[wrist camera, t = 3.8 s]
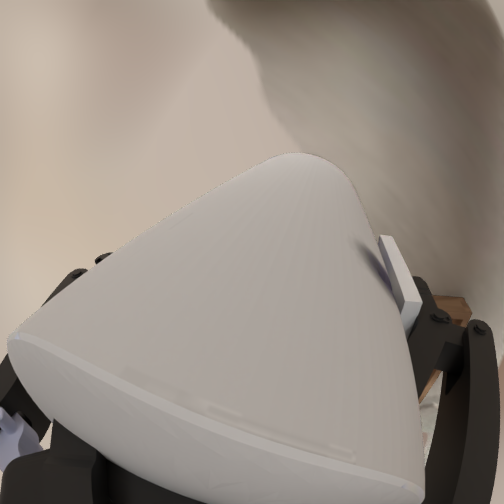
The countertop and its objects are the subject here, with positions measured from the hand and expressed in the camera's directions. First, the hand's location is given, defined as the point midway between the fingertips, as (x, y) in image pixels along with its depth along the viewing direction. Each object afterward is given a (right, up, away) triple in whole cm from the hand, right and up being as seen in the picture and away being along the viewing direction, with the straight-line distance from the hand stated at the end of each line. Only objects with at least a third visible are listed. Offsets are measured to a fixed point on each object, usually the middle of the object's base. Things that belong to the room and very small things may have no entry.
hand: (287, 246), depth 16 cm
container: (+2, +3, +5) cm, 6 cm away
